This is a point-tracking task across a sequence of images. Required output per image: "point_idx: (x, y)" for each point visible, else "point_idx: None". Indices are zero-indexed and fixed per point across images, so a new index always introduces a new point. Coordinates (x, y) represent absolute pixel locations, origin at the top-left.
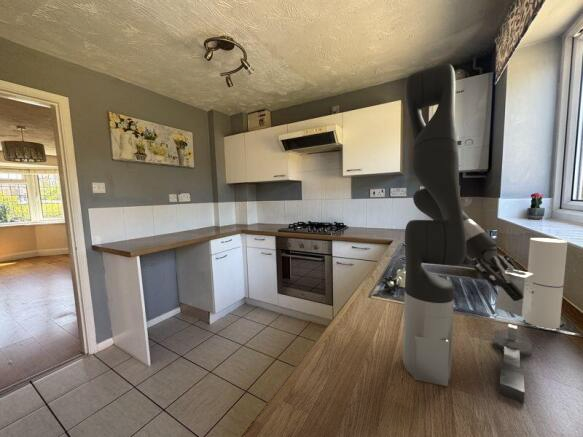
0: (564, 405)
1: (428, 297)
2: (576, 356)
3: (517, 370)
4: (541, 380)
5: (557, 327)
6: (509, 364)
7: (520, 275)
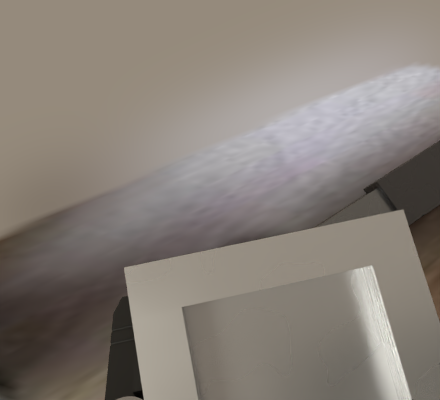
0: (359, 104)
1: None
2: (82, 203)
3: (404, 179)
4: (319, 169)
5: None
6: (399, 206)
7: (273, 339)
